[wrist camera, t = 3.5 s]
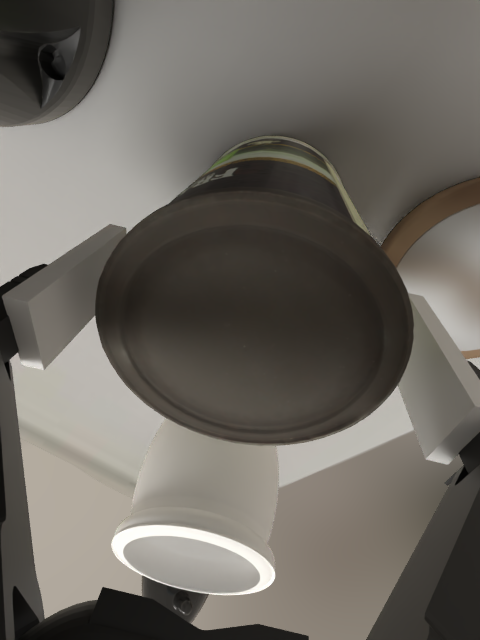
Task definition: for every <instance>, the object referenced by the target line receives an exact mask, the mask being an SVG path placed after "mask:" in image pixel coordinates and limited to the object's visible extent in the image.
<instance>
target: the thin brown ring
mask: <svg viewBox="0 0 480 640" xmlns="http://www.w3.org/2000/svg"><path fill="white" fill-rule="evenodd" d="M381 248H382V249H383V250H384V252H385V253H386V255H387V256H388V257H389V259H390V260H391V261H392V263H393V264H394V265H395V267H396V269H397V271H398V273H399V275H400V276H401V278H402V280H403V283H404V285H405V287H406V289H407V291H408V293H411V294H415V295H420V296H423V297H424V298H425V300H426V301H427V303H428V304H429V306H430V307H431V309H432V310H433V312H434V313H435V314H436V316H437V317H438V319H439V320H440V322H441V323H442V325H443V326H444V328H445V329H446V331H447V332H448V334H449V335H450V337H451V338H452V340H453V341H454V343H455V344H456V346H457V347H458V348H459V350H460V351H461V353H462V354H463V356H464V357H465V359H470V358H477V357H480V177H479V178H476V179H472V180H468V181H465V182H462V183H460V184H457V185H454V186H452V187H449V188H447V189H445V190H443V191H441V192H439V193H437V194H435V195H434V196H432V197H431V198H429V199H427V200H426V201H424V202H423V203H421V204H420V205H419V206H417V207H416V208H415V209H413V210H412V211H411V212H410V213H408V214H407V215H406V216H405V217H404V218H403V219H402V220H401V221H400V222H399V223H398V224H397V225H396V226H395V228H394V229H393V230H392V231H391V232H390V234H389V235H388V236H387V238H386V239H385V241H384V242H383V244H382V245H381Z"/></svg>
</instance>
